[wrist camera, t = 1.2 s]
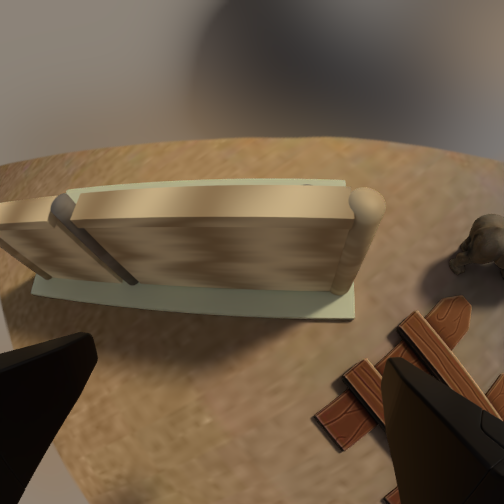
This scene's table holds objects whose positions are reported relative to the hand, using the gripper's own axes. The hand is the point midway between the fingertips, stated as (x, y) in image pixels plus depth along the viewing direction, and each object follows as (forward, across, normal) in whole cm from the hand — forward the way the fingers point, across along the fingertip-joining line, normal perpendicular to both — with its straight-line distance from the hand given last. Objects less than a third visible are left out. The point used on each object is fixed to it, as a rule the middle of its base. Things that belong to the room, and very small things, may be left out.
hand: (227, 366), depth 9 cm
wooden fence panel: (+15, +16, +3) cm, 22 cm away
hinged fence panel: (+15, +2, +3) cm, 15 cm away
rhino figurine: (+17, -22, +2) cm, 28 cm away
